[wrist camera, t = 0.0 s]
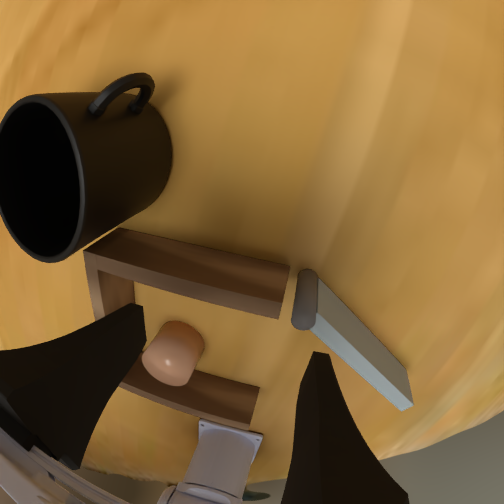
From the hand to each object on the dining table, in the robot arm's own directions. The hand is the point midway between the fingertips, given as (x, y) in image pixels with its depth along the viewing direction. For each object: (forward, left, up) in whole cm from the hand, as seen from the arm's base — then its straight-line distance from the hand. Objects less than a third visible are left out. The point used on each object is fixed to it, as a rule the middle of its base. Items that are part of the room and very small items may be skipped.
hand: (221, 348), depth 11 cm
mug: (+6, +11, -10) cm, 16 cm away
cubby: (-8, +5, -10) cm, 14 cm away
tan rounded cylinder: (-11, +6, -10) cm, 16 cm away
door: (-5, -9, -10) cm, 14 cm away
